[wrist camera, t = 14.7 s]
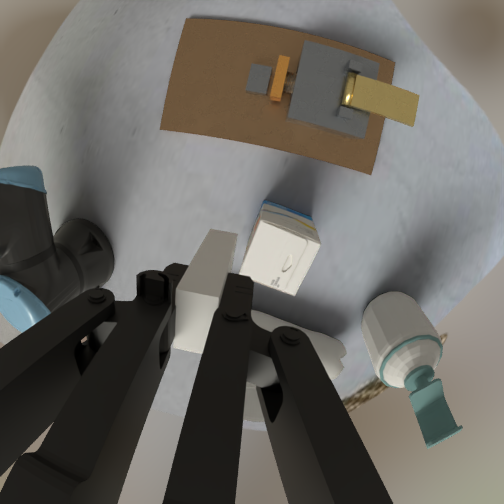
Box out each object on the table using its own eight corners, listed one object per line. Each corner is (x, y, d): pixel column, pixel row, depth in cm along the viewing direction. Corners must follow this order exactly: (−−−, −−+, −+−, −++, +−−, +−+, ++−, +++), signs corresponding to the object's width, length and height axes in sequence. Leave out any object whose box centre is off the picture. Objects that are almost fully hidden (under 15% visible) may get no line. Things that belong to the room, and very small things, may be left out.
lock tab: (341, 105, 30) (341, 103, 29) (348, 74, 29) (348, 71, 27) (411, 127, 28) (413, 126, 27) (417, 96, 27) (419, 94, 26)
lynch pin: (270, 100, 36) (269, 95, 32) (278, 63, 34) (279, 55, 30) (360, 124, 36) (369, 123, 32) (368, 87, 34) (377, 83, 30)
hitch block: (162, 129, 42) (130, 129, 32) (188, 20, 34) (165, -6, 24) (368, 174, 42) (395, 185, 32) (392, 64, 35) (422, 47, 24)
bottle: (353, 337, 50) (206, 271, 48) (344, 382, 45) (183, 317, 43) (329, 347, 58) (199, 291, 56) (318, 387, 53) (179, 331, 51)
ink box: (263, 198, 45) (260, 217, 34) (312, 217, 46) (323, 242, 35) (245, 245, 49) (236, 277, 38) (292, 262, 49) (296, 298, 38)
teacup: (267, 400, 63) (265, 432, 54) (220, 369, 60) (213, 403, 51) (305, 378, 60) (308, 412, 50) (259, 343, 56) (255, 379, 47)
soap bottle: (403, 273, 48) (489, 396, 19) (418, 318, 52) (483, 433, 23) (347, 305, 52) (393, 449, 23) (368, 345, 55) (408, 473, 26)
